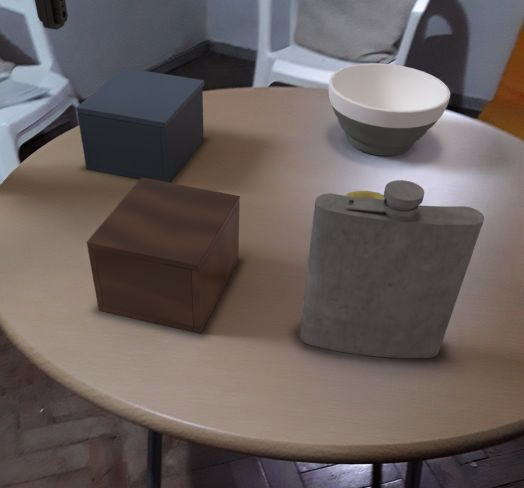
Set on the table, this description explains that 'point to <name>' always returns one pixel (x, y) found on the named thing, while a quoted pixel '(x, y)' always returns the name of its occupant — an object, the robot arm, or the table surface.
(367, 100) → the bowl
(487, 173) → the table surface
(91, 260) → the cabinet
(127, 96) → the lid
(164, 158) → the chest
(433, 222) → the hip flask
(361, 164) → the table surface
